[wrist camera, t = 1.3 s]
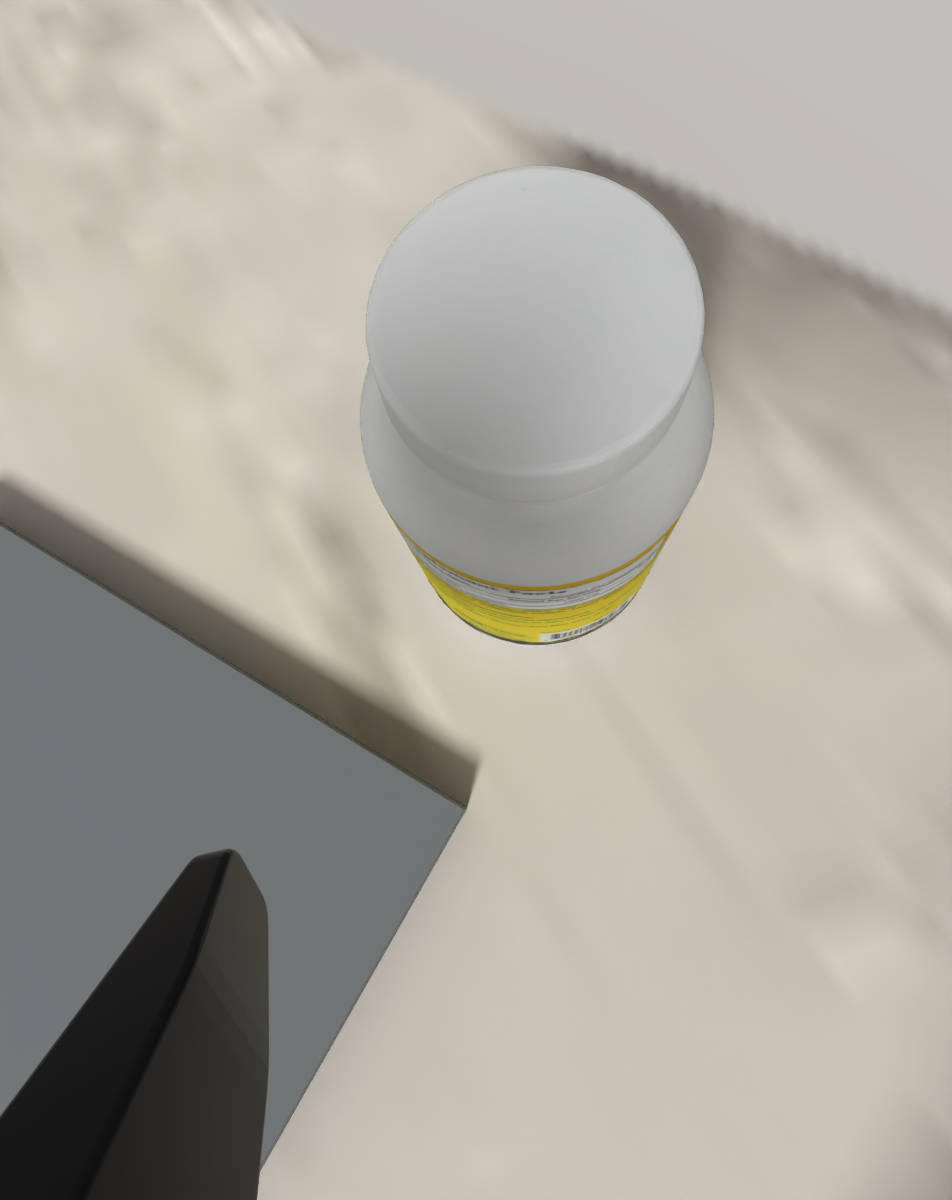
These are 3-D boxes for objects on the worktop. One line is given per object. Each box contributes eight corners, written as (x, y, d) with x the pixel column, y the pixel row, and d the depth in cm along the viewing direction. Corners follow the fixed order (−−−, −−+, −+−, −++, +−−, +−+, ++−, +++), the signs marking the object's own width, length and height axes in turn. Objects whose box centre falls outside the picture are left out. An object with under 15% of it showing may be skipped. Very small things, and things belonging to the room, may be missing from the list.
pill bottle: (496, 393, 23) (460, 49, 12) (693, 498, 22) (850, 224, 11) (377, 578, 22) (222, 388, 11) (577, 696, 21) (622, 614, 10)
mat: (466, 807, 20) (463, 809, 19) (154, 1355, 18) (133, 1388, 17) (-14, 514, 23) (-38, 502, 22) (-332, 962, 21) (-375, 972, 20)
